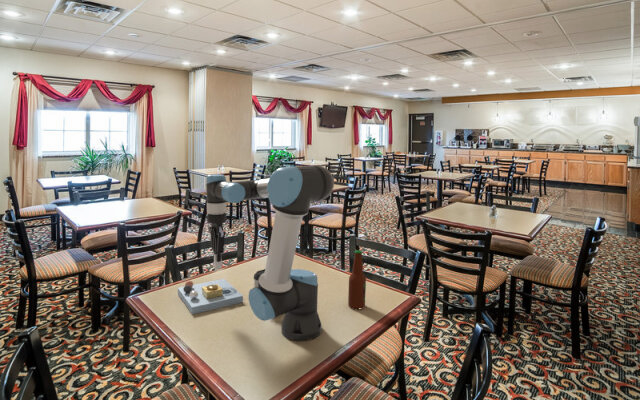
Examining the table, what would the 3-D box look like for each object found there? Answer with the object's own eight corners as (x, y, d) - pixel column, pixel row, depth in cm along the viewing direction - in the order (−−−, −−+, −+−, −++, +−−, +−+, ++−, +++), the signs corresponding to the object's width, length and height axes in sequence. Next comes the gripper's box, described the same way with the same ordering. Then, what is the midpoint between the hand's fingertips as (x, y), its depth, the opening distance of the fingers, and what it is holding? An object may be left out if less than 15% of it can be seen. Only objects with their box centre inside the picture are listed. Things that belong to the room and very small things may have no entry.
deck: (243, 302, 163) (242, 295, 163) (192, 314, 151) (191, 307, 151) (224, 284, 183) (224, 278, 182) (177, 294, 171) (177, 287, 170)
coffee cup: (270, 310, 156) (270, 276, 154) (250, 307, 158) (250, 274, 156) (277, 301, 165) (277, 268, 163) (258, 299, 167) (258, 267, 164)
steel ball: (199, 299, 158) (198, 291, 158) (190, 301, 156) (190, 293, 156) (196, 296, 161) (196, 288, 161) (188, 298, 159) (188, 290, 159)
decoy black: (192, 293, 165) (192, 285, 164) (184, 294, 163) (184, 287, 162) (190, 290, 168) (190, 283, 167) (182, 292, 166) (182, 284, 165)
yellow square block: (222, 295, 162) (222, 287, 162) (206, 299, 158) (206, 291, 158) (217, 290, 168) (217, 282, 168) (202, 293, 164) (201, 285, 164)
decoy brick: (194, 288, 170) (194, 281, 169) (186, 290, 168) (186, 282, 167) (192, 285, 173) (191, 278, 172) (184, 287, 171) (184, 280, 170)
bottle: (368, 308, 160) (370, 252, 156) (354, 311, 156) (356, 254, 152) (358, 301, 166) (360, 247, 162) (344, 305, 162) (346, 250, 158)
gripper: (231, 214, 147) (232, 271, 151) (220, 209, 157) (221, 262, 161) (212, 216, 143) (214, 274, 146) (202, 210, 153) (204, 265, 157)
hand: (217, 268), depth 154 cm, fingers closed
